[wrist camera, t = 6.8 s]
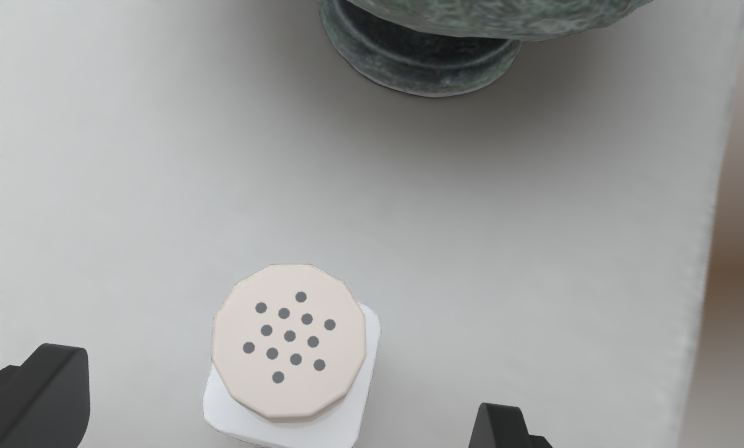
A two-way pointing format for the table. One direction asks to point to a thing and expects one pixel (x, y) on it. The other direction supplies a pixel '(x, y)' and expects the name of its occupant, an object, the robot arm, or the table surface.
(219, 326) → the salt shaker
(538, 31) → the bowl
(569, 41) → the table surface
